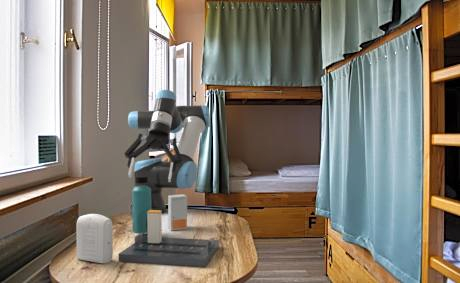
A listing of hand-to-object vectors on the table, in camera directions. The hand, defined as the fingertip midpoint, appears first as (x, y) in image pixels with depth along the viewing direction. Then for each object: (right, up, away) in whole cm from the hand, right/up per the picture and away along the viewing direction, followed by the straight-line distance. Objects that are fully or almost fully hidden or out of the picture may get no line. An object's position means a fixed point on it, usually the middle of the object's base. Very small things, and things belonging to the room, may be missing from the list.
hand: (149, 178), depth 117 cm
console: (+11, -19, -21) cm, 30 cm away
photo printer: (-9, -20, -25) cm, 33 cm away
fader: (+6, -17, -18) cm, 25 cm away
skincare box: (+9, -19, +5) cm, 21 cm away
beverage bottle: (-2, -19, -3) cm, 19 cm away
